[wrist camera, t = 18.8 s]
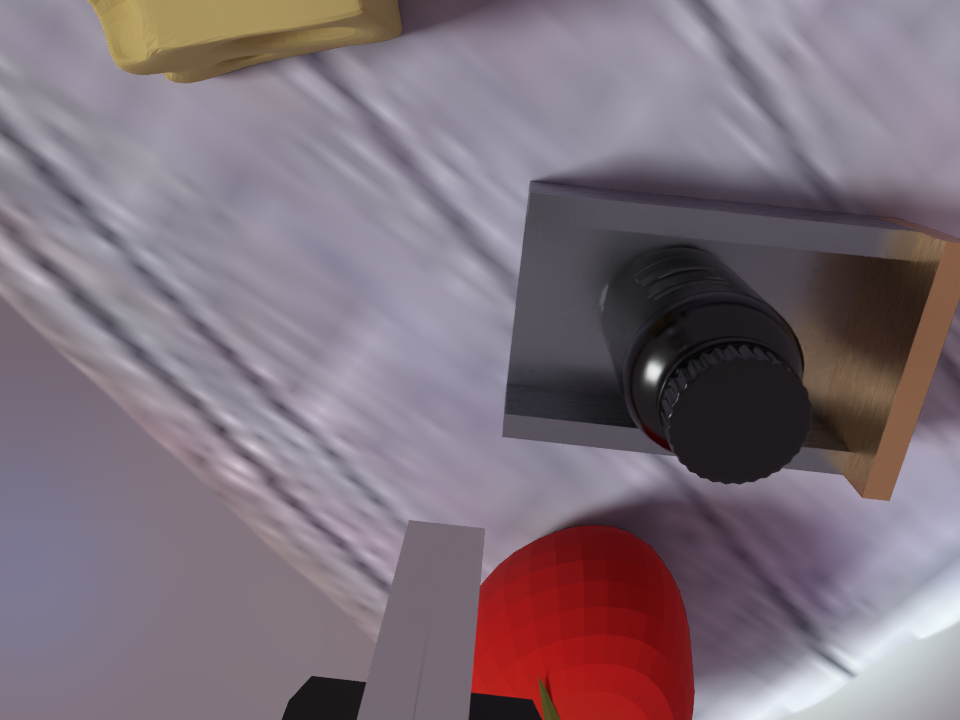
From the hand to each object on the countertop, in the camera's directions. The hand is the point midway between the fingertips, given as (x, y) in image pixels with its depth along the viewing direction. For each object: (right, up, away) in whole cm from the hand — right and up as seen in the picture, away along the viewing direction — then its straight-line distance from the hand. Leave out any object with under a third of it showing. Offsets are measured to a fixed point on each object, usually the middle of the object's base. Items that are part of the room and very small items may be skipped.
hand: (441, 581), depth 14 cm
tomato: (+6, -9, +27) cm, 29 cm away
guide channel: (+11, +7, +21) cm, 24 cm away
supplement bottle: (+10, +7, +20) cm, 24 cm away
